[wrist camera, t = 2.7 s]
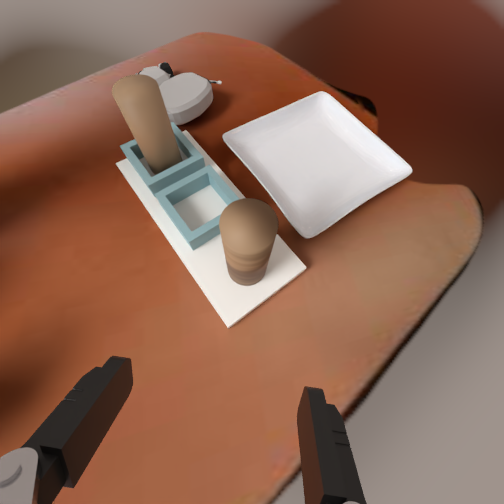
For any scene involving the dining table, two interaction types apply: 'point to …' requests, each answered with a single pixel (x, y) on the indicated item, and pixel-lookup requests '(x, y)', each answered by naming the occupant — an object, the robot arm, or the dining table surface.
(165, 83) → the robot toy
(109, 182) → the dining table surface
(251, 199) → the walnut column
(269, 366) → the dining table surface
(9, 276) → the dining table surface
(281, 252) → the base board
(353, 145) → the salad plate
